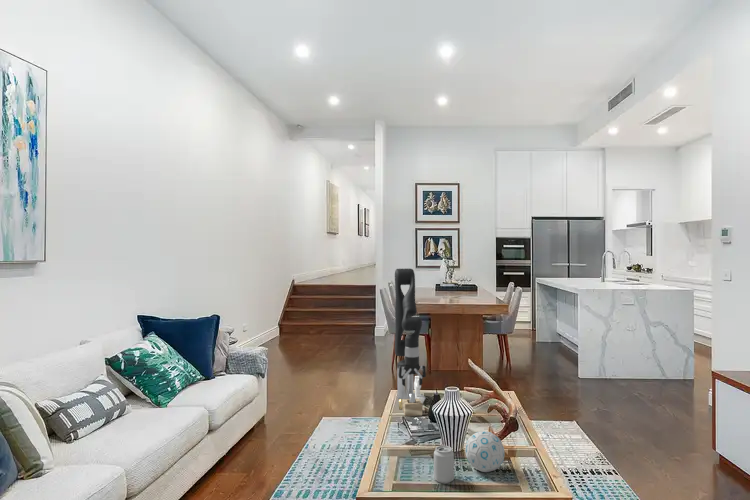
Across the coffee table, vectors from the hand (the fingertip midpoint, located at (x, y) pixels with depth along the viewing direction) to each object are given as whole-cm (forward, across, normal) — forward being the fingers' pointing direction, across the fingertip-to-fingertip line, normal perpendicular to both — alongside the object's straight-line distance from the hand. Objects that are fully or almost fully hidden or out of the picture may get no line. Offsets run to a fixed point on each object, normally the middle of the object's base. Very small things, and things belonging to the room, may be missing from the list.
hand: (412, 385), depth 273 cm
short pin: (+14, +5, -6) cm, 17 cm away
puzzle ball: (+13, -16, +72) cm, 74 cm away
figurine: (+15, -6, -16) cm, 22 cm away
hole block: (+14, 0, 0) cm, 14 cm away
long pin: (+14, 0, +1) cm, 14 cm away
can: (+13, +2, +78) cm, 79 cm away
